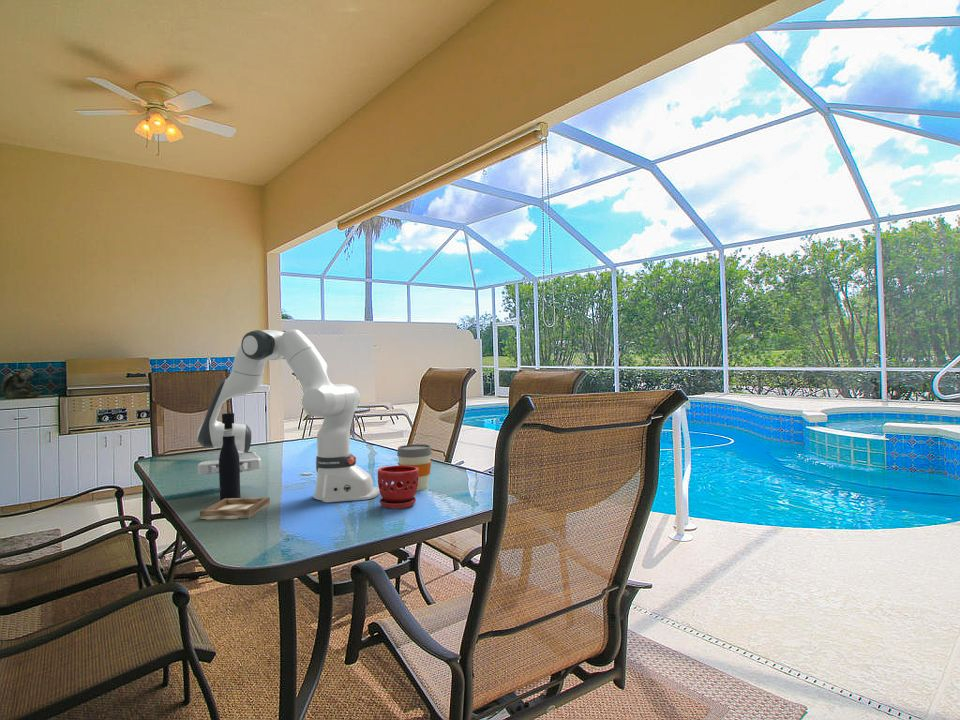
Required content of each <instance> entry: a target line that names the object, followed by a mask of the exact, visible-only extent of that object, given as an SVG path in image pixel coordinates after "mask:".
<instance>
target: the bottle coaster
mask: <svg viewBox="0 0 960 720" xmlns="http://www.w3.org/2000/svg"><path fill="white" fill-rule="evenodd" d="M270 505H271V498H270V497H240V498H225V499H223V500H221V501H220V500H219V501H217V502H215V503H213V504H212V505H209V506H208V507H206V508H204V509H201V510H200V511H199V520H200V519H206V520H237V519H238V518H241V519H242V518H249V519H251V518H252V517H254V516H255V515H257V514H258V513H260V512H262V511H263V510H265V509H266V508H268V507H269V506H270ZM267 506H268V507H267ZM264 508H265V509H264ZM262 509H263V510H262ZM261 510H262V511H261ZM259 511H260V512H259ZM256 513H257V514H256ZM253 515H254V516H253ZM250 517H251V518H250ZM241 519H240V520H241ZM238 520H239V519H238Z"/></svg>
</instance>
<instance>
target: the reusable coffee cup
mask: <svg viewBox="0 0 960 720" xmlns="http://www.w3.org/2000/svg"><path fill="white" fill-rule="evenodd" d="M432 454H433V453H432V447H431V445H430V444H422V443H421V444H420V443H419V444H418V443H416V444H405V445H401V446H398V447H397V454H396V455H397V458H398V463H397V464H398V465H397V466H414V467H417V468H418V469H419V479H418V487H417V491H416V492H418V491H423V490H427V489H428V485H429V477H430V474H431V467H432V461H431V455H432ZM401 483H402V482H401ZM402 484H403V483H402Z"/></svg>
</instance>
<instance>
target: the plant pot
mask: <svg viewBox="0 0 960 720" xmlns="http://www.w3.org/2000/svg"><path fill="white" fill-rule="evenodd" d="M418 479H419V469H418V468H417V467H414V466H398V465H388V466H382V467H380V468H378V470H377V485H378V486H377V487H378V488H379V491H380V493H379V494H380V496H381V498H380V499H379V503H380V505H381V506H382V507H384V508H386V509H387V508H388V509H390V510H392V509H405V508H409V507H411V506H413V505H414V504H416V501H417V498H416V497H415V495H416V494H417V492H418V491H417V487H418ZM392 482H393V483H392ZM402 483H403V484H402Z"/></svg>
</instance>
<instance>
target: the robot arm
mask: <svg viewBox="0 0 960 720" xmlns="http://www.w3.org/2000/svg"><path fill="white" fill-rule="evenodd" d="M277 360H285V361H286V363H287V364H288V365H289V367H290V368H291V370H292V372H293V373H294V375H295V376H296V378H297V380H298V381H299V383H300V386H301V389H302V392H303V395H302V398H301V406H302V408H303V411H304V412H305V414H306V415H309V416H311V417H315V418H323V422H322V424H321V427H320V429H319V430H318V432H317V434H316V448H317V449H316V450H317V452H316V456H315V457H316V458H315V469H316V470H315V471H316V482H315V483H316V484H315V490H314V494H313V499H315V500H319V501H321V502H323V503H335V502H350V501H351V502H352V501H365V500H370V499H371V500H372V499H374V498H376V497H377V496H378V495H379V494H380V491H379V487H378V486H377V487H376V486H374V482H373V478H372V476H371V474H370V473H369V472H367V471H366V470H364V469H363V468H362V467H360V466H359V465H357V455H353V454H352V453H351V435H350V434H351V428H352V427H351V426H352V423H353V419H354V415H355V411H356V409H357V408H358V406H359V405H360V402H361V395H360V392H359V390H358V389H357V388H356V387H355V386H354V385H351V384H347V383H333V382H332V381H331V380H330V379H329V375H328V371H329V366H328V364H327V362H326V360H325V359H324V358H323V356H322V355H321V353H320V352H319V351H318V348H317V347H316V346H315V345H314V344H313V342H312V341H311V340H310V338H308V337H307V336H306V335H305V334H304V333H303V332H302V330H299V329H297V328H296V329H294V328H293V329H288V330H275V329H262V330H258V329H257V330H256V329H255V330H252V331H248V332H247V333H246V334H244V336H242V339H241V343H240V345H239V347H238V348H237V352H236V353H235V356H234V360H233V363H232V367H231V368H232V369H231V371H230V374H229V376H228V377H227V378H225V379H224V380H222V381H220V383H219V384H218V386H217V387H216V390H215V392H214V395H213V397H212V399H211V402H210V404H209V407H208V410H207V411H206V415H205V418H204V420H202V423H201V425H200V426H199V428H198V431H197V433H196V434H197V435H196V438H197V442H198V443H199V445H200V446H202V447H203V448H211V449H212V448H216V449H217V448H218V449H219V448H220V449H222V446H223V436H224V435H223V434H224V433H223V432H224V431H226V430H225V429H224V424H222V421H218V420H217V419H218V417H219V414H220V411H221V409H222V406H223V404H224V403H225V402H226V401H227V400H230V399H233V398H236V397H242V396H247V395H249V394H252V393H254V392H255V391H257V390H258V389H259V388H260V387H261V385H262V381H263V379H264V372H265V368H266V365H267V364H266V363H267V362H268V361H277ZM232 428H233V429H230V430H233V431H234V432H233V433H234V434H233V435H234V436H235V445H236V448H237V450H238V454H239V462H240V474H241V473H245V472H249V471H255V470H260V469H261V468H262V459H261V457H260V456H259V455H258V454H257V453H256V452H255V451H250V448H251V446H252V445H251V444H252V430H251V428H250V426H248V424H243V423H237V422H236V423H235V422H234V423H232ZM219 456H220V454H219ZM219 456H218V459H213V460H204V461H201V462H199V463H198V464H197V474H198V475H213V474H219Z"/></svg>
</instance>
